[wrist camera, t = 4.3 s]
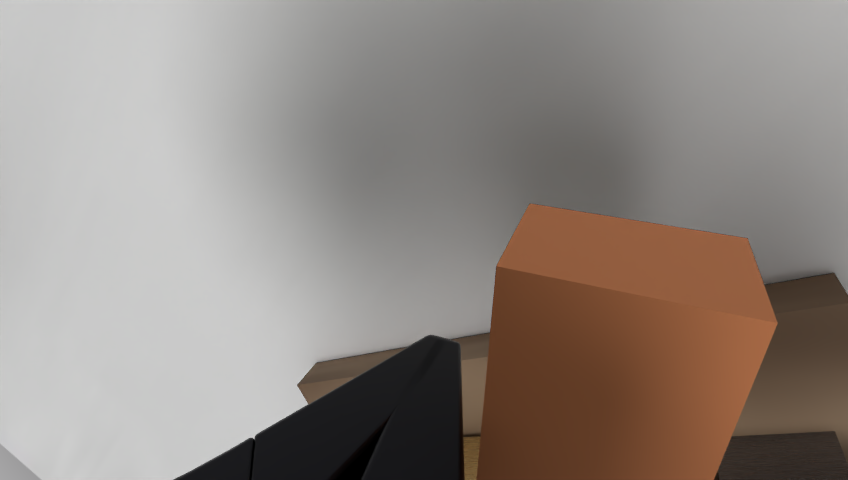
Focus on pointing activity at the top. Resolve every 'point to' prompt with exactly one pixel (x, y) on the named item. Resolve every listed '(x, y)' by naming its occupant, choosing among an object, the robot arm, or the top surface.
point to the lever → (619, 349)
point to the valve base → (764, 408)
